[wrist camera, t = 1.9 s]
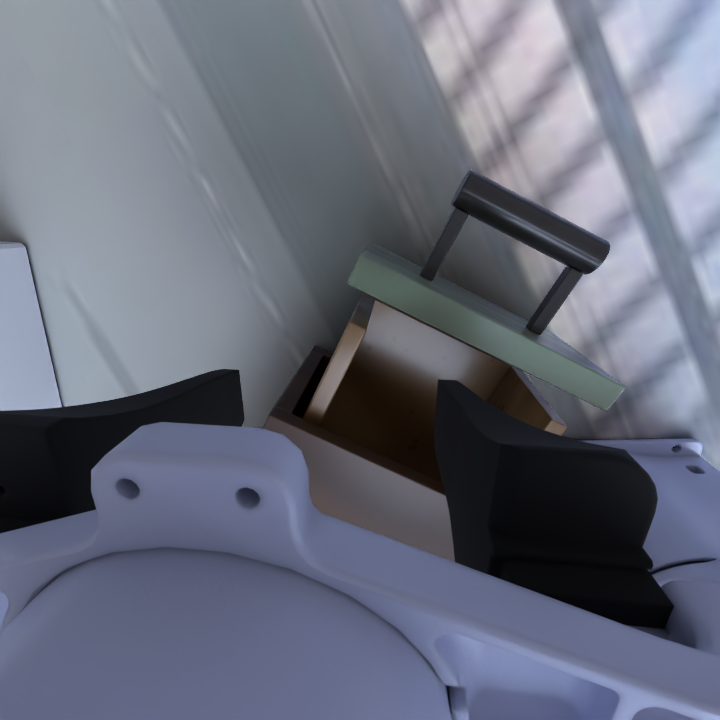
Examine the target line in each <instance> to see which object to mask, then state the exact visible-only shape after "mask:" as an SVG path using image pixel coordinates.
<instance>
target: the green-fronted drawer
mask: <svg viewBox="0 0 720 720" xmlns="http://www.w3.org/2000/svg"><path fill="white" fill-rule="evenodd" d="M451 205H452V206H453V207H455V208H454V209H453V211H452V213H451V215H450V217H449V219H448V221H447V223H446V225H445V226H444V228H443V230H442V232H441V234H440V236H439V238H438V240H437V242H436V243H435V245H434V247H433V249H432V251H431V253H430V255H429V257H428V259H427V261H426V262H425V264H424V266H423V268H422V267H420V266H418V265H416V264H414V263H412V262H410V261H408V260H406V259H404V258H402V257H400V256H398V255H396V254H394V253H392V252H390V251H388V250H386V249H384V248H382V247H380V246H378V245H376V244H374V243H372V244H371V245H370V246H369V247H368V248H367V249H366V250H364V251H363V252H362V253H361V254H360V255H359V257H358V259H357V261H356V263H355V265H354V268H353V270H352V272H351V274H350V276H349V279H348V281H347V284H348V285H350V286H352V287H354V288H356V289H358V290H360V291H362V292H363V293H362V295H361V297H360V299H359V301H358V303H357V305H356V308H355V310H354V312H353V314H352V316H351V318H350V320H349V322H348V324H347V326H346V329H345V331H344V333H343V335H342V337H341V339H340V341H339V343H338V345H337V347H336V349H335V352H334V354H333V356H332V358H331V360H330V362H329V364H328V366H327V368H326V370H325V373H324V375H323V377H322V379H321V381H320V383H319V385H318V387H317V389H316V391H315V393H314V396H313V398H312V400H311V402H310V404H309V406H308V408H307V410H306V412H305V414H304V416H303V419H304V420H306V421H308V422H311V423H313V424H315V425H317V426H319V427H321V428H324V429H326V430H328V431H330V432H332V433H334V434H337V435H339V436H341V437H343V438H345V439H348V440H350V441H352V442H354V443H356V444H358V445H361V446H363V447H365V448H367V449H369V450H371V451H374V452H376V453H378V454H380V455H382V456H385V457H387V458H389V459H391V460H393V461H395V462H398V463H400V464H402V465H404V466H406V467H408V468H411V469H413V470H415V471H417V472H419V473H422V474H424V475H426V476H428V477H430V478H432V479H435V480H437V481H439V482H441V483H442V479H441V475H440V470H439V466H438V462H437V458H436V453H435V443H434V420H435V409H436V398H437V388H438V379H440V380H457V381H458V382H460V383H462V384H463V385H464V386H466V387H467V388H468V389H470V390H471V391H472V392H474V393H475V394H477V395H478V396H479V397H481V398H482V399H484V400H485V401H487V402H488V403H490V404H491V405H493V406H494V407H496V408H498V409H499V410H501V411H503V412H505V413H506V414H508V415H510V416H512V417H514V418H516V419H518V420H521V421H523V422H525V423H527V424H529V425H532V426H534V427H537V428H540V429H543V430H545V431H548V432H551V433H554V434H557V435H560V436H561V435H562V434H563V433H564V432H565V430H566V429H567V426H566V425H565V423H564V422H563V421H562V420H561V418H560V417H559V416H558V415H557V414H556V412H555V411H554V410H553V409H552V407H551V406H550V405H549V404H548V403H547V401H546V400H545V399H544V398H543V396H542V395H541V394H540V393H539V391H538V390H537V389H536V388H535V387H534V385H533V384H532V383H531V382H530V380H529V379H528V378H527V377H526V376H525V374H524V373H523V372H522V371H521V370H523V371H525V372H527V373H529V374H531V375H533V376H535V377H537V378H539V379H541V380H543V381H545V382H547V383H549V384H551V385H553V386H555V387H557V388H560V389H562V390H564V391H566V392H568V393H570V394H572V395H574V396H576V397H578V398H580V399H582V400H584V401H586V402H588V403H590V404H592V405H594V406H596V407H598V408H600V409H602V410H604V411H607V410H608V409H609V408H610V406H611V405H612V404H613V403H614V402H615V400H616V399H617V398H618V397H619V396H620V394H621V393H622V392H623V391H624V390H625V388H626V387H625V386H624V385H623V384H621V383H620V382H618V381H617V380H616V379H614V378H613V377H612V376H610V375H609V374H608V373H606V372H605V371H604V370H602V369H601V368H599V367H598V366H597V365H595V364H594V363H593V362H591V361H590V360H589V359H587V358H586V357H584V356H583V355H582V354H580V353H579V352H578V351H576V350H575V349H574V348H572V347H571V346H570V345H568V344H567V343H565V342H564V341H563V340H561V339H560V338H559V337H557V336H556V335H555V334H553V333H551V332H549V331H547V330H545V328H546V327H547V325H548V324H549V322H550V321H551V319H552V318H553V317H554V315H555V314H556V312H557V311H558V309H559V308H560V307H561V305H562V304H563V302H564V301H565V299H566V298H567V296H568V295H569V294H570V292H571V291H572V289H573V288H574V286H575V285H576V284H577V282H578V281H579V279H580V278H581V276H582V275H583V274H590V273H592V272H593V271H595V270H596V269H597V268H598V267H599V266H600V265H601V264H602V263H603V261H604V260H605V259H606V257H607V255H608V253H609V250H610V244H609V242H607V241H606V240H604V239H602V238H600V237H598V236H596V235H594V234H592V233H590V232H589V231H587V230H585V229H583V228H581V227H579V226H577V225H575V224H573V223H572V222H570V221H568V220H566V219H564V218H562V217H560V216H558V215H556V214H555V213H553V212H551V211H549V210H547V209H545V208H543V207H541V206H539V205H538V204H536V203H534V202H532V201H530V200H528V199H526V198H524V197H523V196H521V195H519V194H517V193H515V192H513V191H511V190H509V189H507V188H506V187H504V186H502V185H500V184H498V183H496V182H494V181H492V180H490V179H489V178H487V177H485V176H483V175H481V174H479V173H477V172H475V171H473V170H469V171H468V173H467V174H466V175H465V177H464V179H463V180H462V182H461V184H460V186H459V187H458V189H457V191H456V193H455V195H454V198H453V200H452V204H451ZM468 215H470V216H472V217H474V218H476V219H478V220H480V221H482V222H484V223H486V224H487V225H489V226H491V227H493V228H495V229H497V230H499V231H501V232H503V233H505V234H507V235H509V236H511V237H512V238H514V239H516V240H518V241H520V242H522V243H524V244H526V245H528V246H530V247H532V248H534V249H536V250H537V251H539V252H541V253H543V254H545V255H547V256H549V257H551V258H553V259H555V260H557V261H559V262H561V263H563V264H564V265H566V266H568V267H565V269H564V270H563V272H562V273H561V275H560V276H559V277H558V279H557V280H556V282H555V283H554V285H553V286H552V288H551V289H550V291H549V292H548V294H547V295H546V297H545V298H544V300H543V301H542V303H541V304H540V306H539V307H538V309H537V310H536V312H535V313H534V315H533V316H532V318H531V319H530V321H527V320H525V319H523V318H521V317H519V316H517V315H516V314H514V313H512V312H510V311H508V310H506V309H504V308H502V307H500V306H498V305H496V304H494V303H492V302H490V301H488V300H486V299H484V298H482V297H480V296H478V295H476V294H474V293H472V292H470V291H468V290H466V289H464V288H462V287H460V286H458V285H456V284H454V283H452V282H450V281H448V280H446V279H444V278H442V277H440V276H438V275H436V274H437V272H438V270H439V268H440V266H441V264H442V263H443V261H444V259H445V257H446V255H447V253H448V252H449V250H450V248H451V246H452V244H453V242H454V240H455V239H456V237H457V235H458V233H459V231H460V229H461V228H462V226H463V224H464V222H465V220H466V218H467V217H468Z"/></svg>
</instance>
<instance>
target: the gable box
mask: <svg viewBox="0 0 720 720" xmlns="http://www.w3.org/2000/svg"><path fill="white" fill-rule="evenodd" d="M59 407H62V406H61V401H60V397H59V392H58V388H57V384H56V379H55V375H54V370H53V366H52V362H51V357H50V353H49V348H48V344H47V340H46V335H45V331H44V326H43V322H42V317H41V313H40V309H39V304H38V300H37V295H36V291H35V287H34V282H33V278H32V273H31V269H30V265H29V260H28V256H27V251H26V247H25V246H24V245H23V244H22V243H16V242H6V241H0V411H8V410H34V409H47V408H59Z"/></svg>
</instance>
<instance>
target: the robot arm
mask: <svg viewBox="0 0 720 720" xmlns="http://www.w3.org/2000/svg"><path fill="white" fill-rule="evenodd" d="M243 422H244V411H243V401H242V392H241V383H240V374H239V370H229V369H221V370H215V371H211V372H208V373H204V374H201V375H198V376H195V377H192V378H189V379H186V380H183V381H180V382H177V383H174V384H171V385H168V386H164V387H161V388H158V389H155V390H151V391H148V392H144V393H140V394H137V395H132V396H128V397H124V398H119V399H114V400H109V401H103V402H96V403H90V404H84V405H77V406H68V407H59V408H47V409H34V410H8V411H0V720H720V472H719V471H718V470H717V469H715V468H714V467H713V466H712V465H710V464H709V463H708V462H706V461H705V460H704V459H703V458H701V457H700V456H701V452H702V448H703V445H702V444H701V443H700V442H699V441H698V440H696V439H642V440H586V441H579V440H575V439H571V438H567V437H564V436H560V435H557V434H554V433H551V432H548V431H545V430H543V429H540V428H537V427H534V426H532V425H529V424H527V423H525V422H523V421H521V420H518V419H516V418H514V417H512V416H510V415H508V414H506V413H505V412H503V411H501V410H499V409H498V408H496V407H494V406H493V405H491V404H490V403H488V402H487V401H485V400H484V399H482V398H481V397H479V396H478V395H477V394H475V393H474V392H472V391H471V390H470V389H468V388H467V387H466V386H464V385H463V384H462V383H460V382H458V381H457V380H440V379H438V388H437V398H436V409H435V420H434V443H435V453H436V458H437V462H438V466H439V470H440V475H441V479H442V483H443V487H444V491H445V495H446V499H447V504H448V509H449V514H450V522H451V530H452V538H453V547H454V557H455V562H453V561H450V560H447V559H445V558H442V557H439V556H437V555H434V554H431V553H428V552H426V551H423V550H420V549H418V548H415V547H412V546H409V545H407V544H404V543H401V542H399V541H396V540H393V539H390V538H388V537H385V536H382V535H380V534H377V533H374V532H371V531H369V530H366V529H363V528H361V527H358V526H355V525H352V524H350V523H347V522H344V521H342V520H339V519H336V518H333V517H331V516H328V515H325V514H323V513H321V512H320V511H319V510H317V509H316V508H315V507H314V505H313V503H312V501H311V497H310V492H309V470H308V468H307V465H306V462H305V459H304V456H303V453H302V451H301V450H300V449H299V448H298V447H297V446H296V445H295V444H293V443H292V442H291V441H290V440H289V439H288V438H287V437H286V436H284V435H282V434H279V433H276V432H272V431H269V430H265V429H262V428H253V427H241V426H242V424H243ZM676 445H677V446H676ZM674 446H676V447H675V448H674V449H672V448H673V447H674Z"/></svg>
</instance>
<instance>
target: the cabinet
mask: <svg viewBox="0 0 720 720" xmlns="http://www.w3.org/2000/svg"><path fill="white" fill-rule="evenodd" d="M332 356H333V354H332V353H330V352H328V351H326V350H324V349H322V348H320V347H318V346H314V347H313V349H312V350H311V352H310V353H309V355H308V356H307V358H306V359H305V361H304V362H303V364H302V365H301V367H300V368H299V370H298V371H297V373H296V375H295V376H294V378H293V379H292V381H291V382H290V384H289V385H288V387H287V388H286V390H285V391H284V393H283V394H282V396H281V397H280V399H279V400H278V402H277V403H276V405H275V407H274V408H273V409H272V411H271V413H270V414H269V416H268V418H267V420H266V423H265V425H264V427H263V429H265V430H269V431H272V432H276V433H279V434H282V435H284V436H286V437H287V438H288V439H289V440H290V441H291V442H292V443H293V444H295V445H296V446H297V447H298V448H299V449H300V450H301V451H302V453H303V456H304V459H305V462H306V465H307V468H308V470H309V492H310V497H311V501H312V503H313V505H314V507H315V508H316V509H317V510H319V511H320V512H321V513H323V514H325V515H328V516H331V517H333V518H336V519H339V520H342V521H344V522H347V523H350V524H352V525H355V526H358V527H361V528H363V529H366V530H369V531H371V532H374V533H377V534H380V535H382V536H385V537H388V538H390V539H393V540H396V541H399V542H401V543H404V544H407V545H409V546H412V547H415V548H418V549H420V550H423V551H426V552H428V553H431V554H434V555H437V556H439V557H442V558H445V559H447V560H450V561H453V562H455V557H454V547H453V538H452V530H451V522H450V514H449V509H448V504H447V499H446V495H445V491H444V487H443V483H441V482H439V481H437V480H435V479H432V478H430V477H428V476H426V475H424V474H422V473H419V472H417V471H415V470H413V469H411V468H408V467H406V466H404V465H402V464H400V463H398V462H395V461H393V460H391V459H389V458H387V457H385V456H382V455H380V454H378V453H376V452H374V451H371V450H369V449H367V448H365V447H363V446H361V445H358V444H356V443H354V442H352V441H350V440H348V439H345V438H343V437H341V436H339V435H337V434H334V433H332V432H330V431H328V430H326V429H324V428H321V427H319V426H317V425H315V424H313V423H311V422H308V421H306V420H304V419H303V416H304V414H305V412H306V410H307V408H308V406H309V404H310V402H311V400H312V398H313V396H314V393H315V391H316V389H317V387H318V385H319V383H320V381H321V379H322V377H323V375H324V373H325V370H326V368H327V366H328V364H329V362H330V360H331V358H332Z"/></svg>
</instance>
